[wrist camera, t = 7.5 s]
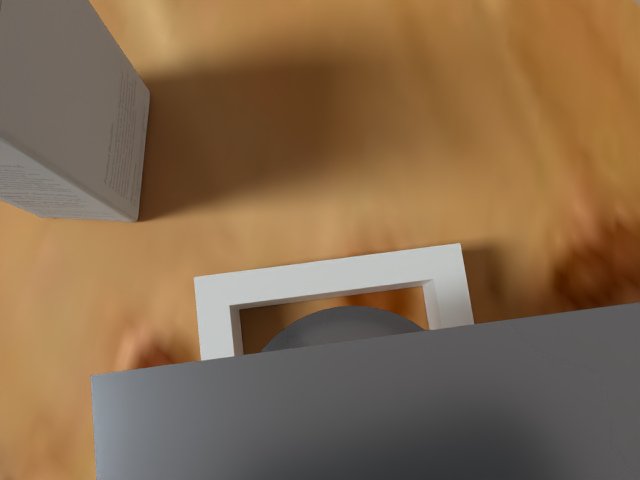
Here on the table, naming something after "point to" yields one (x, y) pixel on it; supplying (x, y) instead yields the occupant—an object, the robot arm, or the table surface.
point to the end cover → (387, 403)
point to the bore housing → (331, 290)
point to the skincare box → (68, 114)
